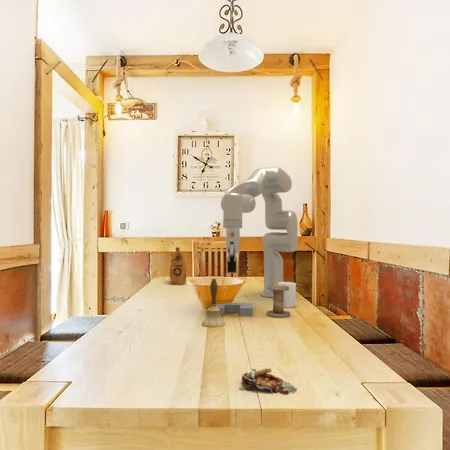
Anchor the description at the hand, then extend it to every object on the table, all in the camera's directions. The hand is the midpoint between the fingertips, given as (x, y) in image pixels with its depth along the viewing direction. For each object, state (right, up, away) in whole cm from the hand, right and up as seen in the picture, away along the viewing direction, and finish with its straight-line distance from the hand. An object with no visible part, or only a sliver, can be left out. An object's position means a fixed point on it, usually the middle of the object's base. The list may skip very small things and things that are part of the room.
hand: (232, 270), depth 151 cm
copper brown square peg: (0, -1, 0) cm, 1 cm away
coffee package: (-31, -18, +81) cm, 89 cm away
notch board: (0, -17, +2) cm, 17 cm away
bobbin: (+18, -17, -1) cm, 25 cm away
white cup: (+24, -17, +16) cm, 34 cm away
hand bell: (-7, -17, -15) cm, 24 cm away
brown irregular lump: (+6, -17, -68) cm, 71 cm away
